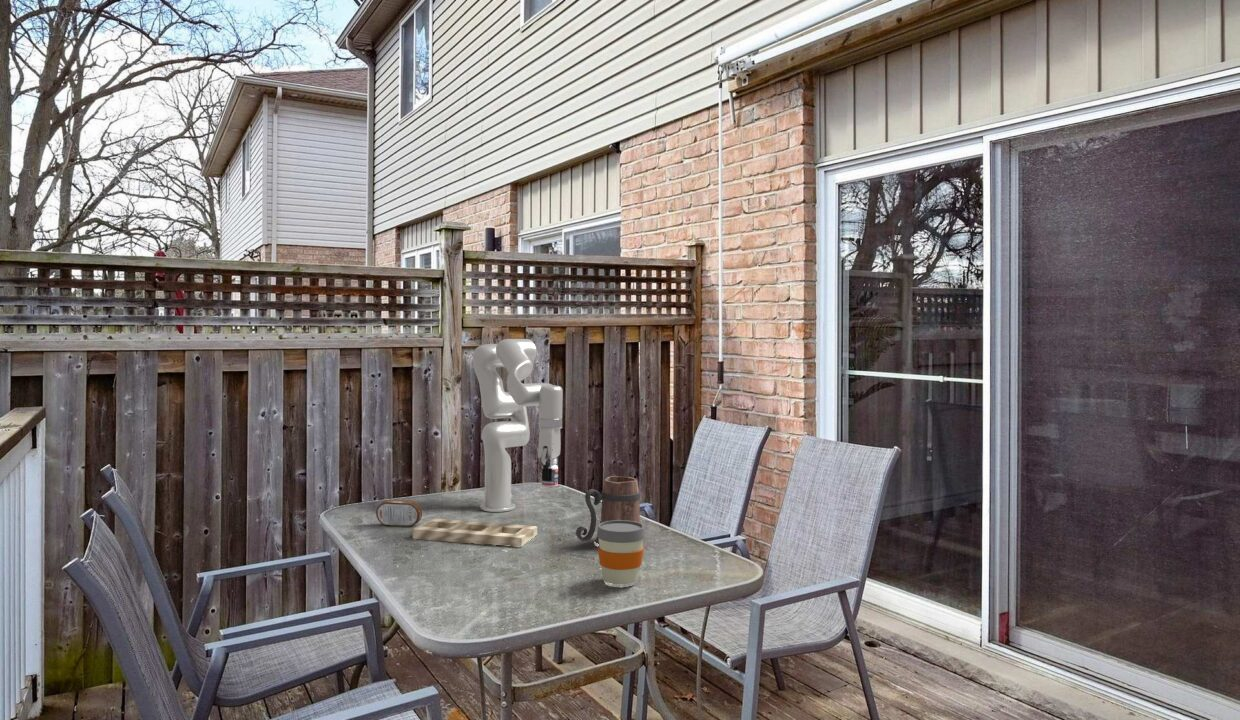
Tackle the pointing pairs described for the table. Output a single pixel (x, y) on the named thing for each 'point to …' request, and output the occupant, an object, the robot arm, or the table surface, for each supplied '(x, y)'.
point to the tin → (398, 513)
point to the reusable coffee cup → (620, 550)
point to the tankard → (613, 503)
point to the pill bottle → (554, 475)
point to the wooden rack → (475, 532)
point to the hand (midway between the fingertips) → (549, 478)
